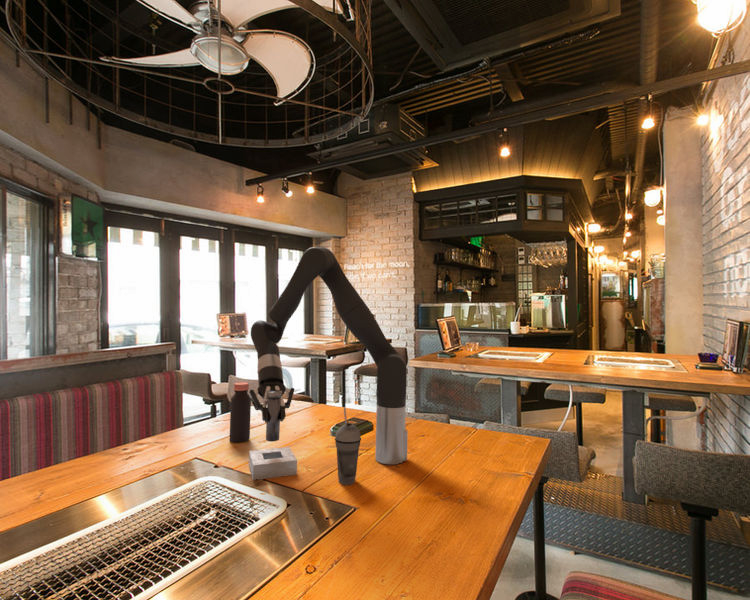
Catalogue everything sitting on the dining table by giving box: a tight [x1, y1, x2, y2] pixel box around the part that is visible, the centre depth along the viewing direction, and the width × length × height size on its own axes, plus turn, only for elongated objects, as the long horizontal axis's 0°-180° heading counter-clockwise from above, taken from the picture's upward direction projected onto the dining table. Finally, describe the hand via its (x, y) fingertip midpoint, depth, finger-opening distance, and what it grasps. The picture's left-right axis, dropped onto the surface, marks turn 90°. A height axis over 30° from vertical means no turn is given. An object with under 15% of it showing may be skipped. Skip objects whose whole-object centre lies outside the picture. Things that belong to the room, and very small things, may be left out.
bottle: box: [229, 381, 252, 444], centre depth 143 cm, size 7×7×20 cm
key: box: [265, 390, 283, 442], centre depth 118 cm, size 4×4×14 cm
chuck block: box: [248, 446, 298, 481], centre depth 118 cm, size 12×12×4 cm
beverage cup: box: [334, 407, 362, 486], centre depth 111 cm, size 7×7×20 cm
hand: (274, 420), depth 116 cm, fingers closed on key, 3 cm apart
